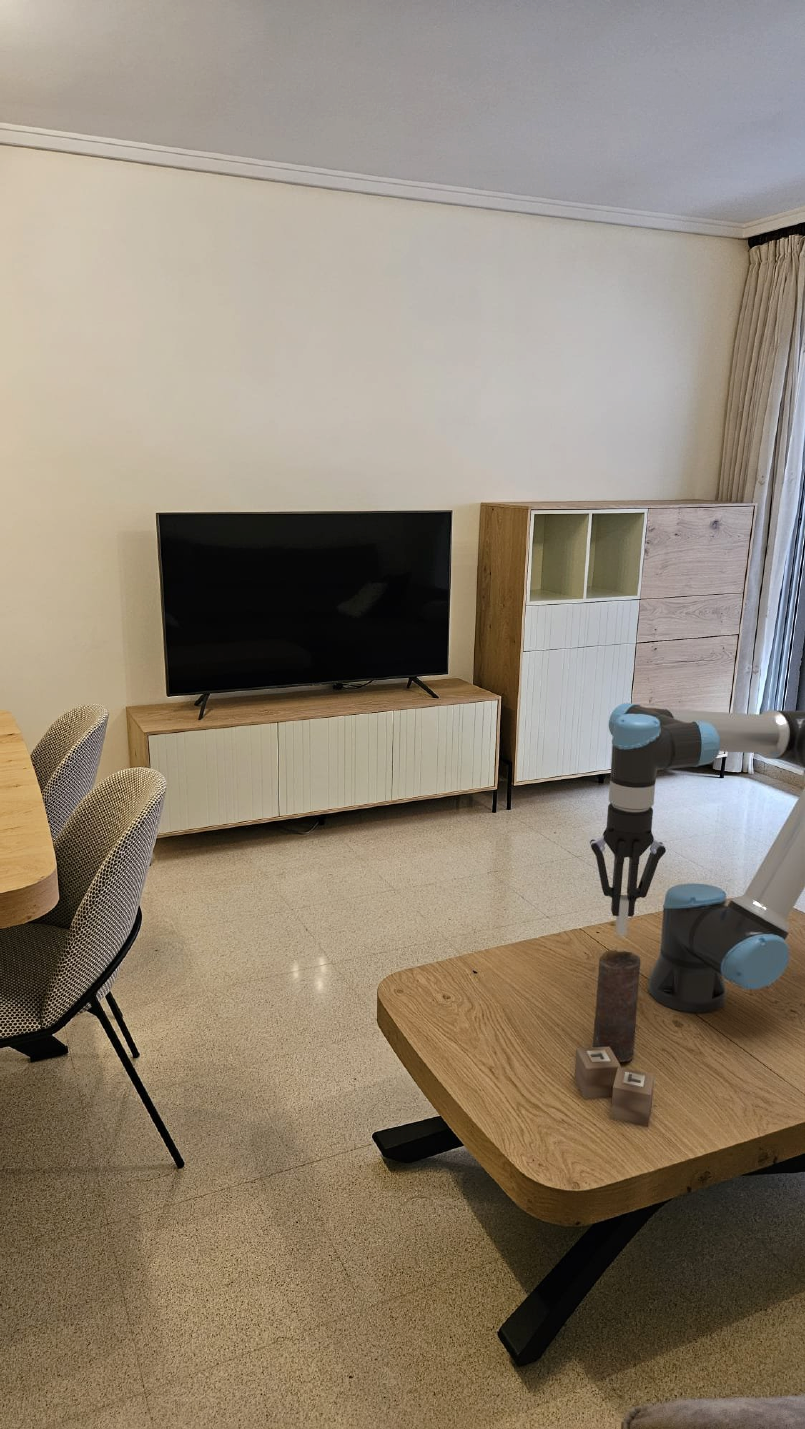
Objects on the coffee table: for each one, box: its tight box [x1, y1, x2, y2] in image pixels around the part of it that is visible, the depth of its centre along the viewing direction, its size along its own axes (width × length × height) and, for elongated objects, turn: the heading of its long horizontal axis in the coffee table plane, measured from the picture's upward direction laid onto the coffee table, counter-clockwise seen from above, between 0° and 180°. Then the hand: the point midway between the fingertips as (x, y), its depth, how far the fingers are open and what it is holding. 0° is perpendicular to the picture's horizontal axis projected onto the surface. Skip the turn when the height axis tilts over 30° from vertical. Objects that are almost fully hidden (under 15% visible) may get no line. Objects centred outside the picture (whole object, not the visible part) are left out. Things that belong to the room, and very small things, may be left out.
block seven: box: [610, 1066, 655, 1128], centre depth 163 cm, size 6×6×6 cm
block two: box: [573, 1046, 622, 1101], centre depth 169 cm, size 6×6×6 cm
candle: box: [592, 949, 641, 1063], centre depth 177 cm, size 8×7×20 cm
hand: (620, 932), depth 173 cm, fingers closed
